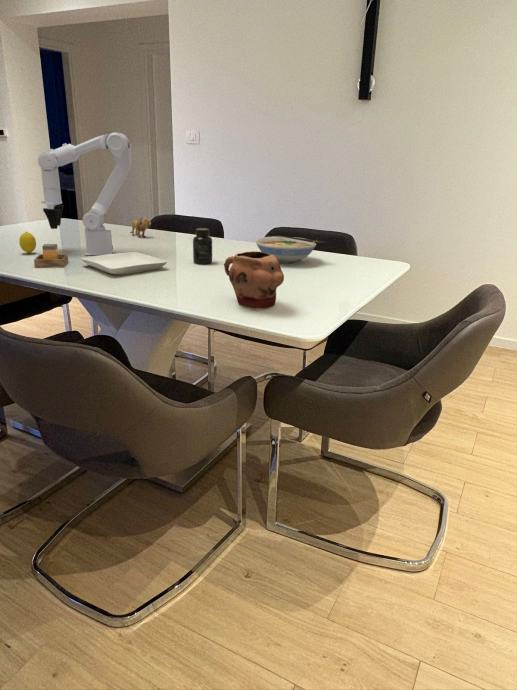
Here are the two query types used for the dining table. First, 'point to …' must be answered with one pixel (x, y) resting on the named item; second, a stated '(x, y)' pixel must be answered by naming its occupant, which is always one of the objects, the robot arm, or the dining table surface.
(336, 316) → the dining table surface
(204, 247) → the supplement bottle
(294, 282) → the dining table surface
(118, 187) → the robot arm
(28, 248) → the lemon
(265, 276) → the decorative planter
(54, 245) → the honey jar
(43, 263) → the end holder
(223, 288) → the dining table surface
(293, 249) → the ramen bowl
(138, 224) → the lion figurine
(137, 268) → the salad plate
